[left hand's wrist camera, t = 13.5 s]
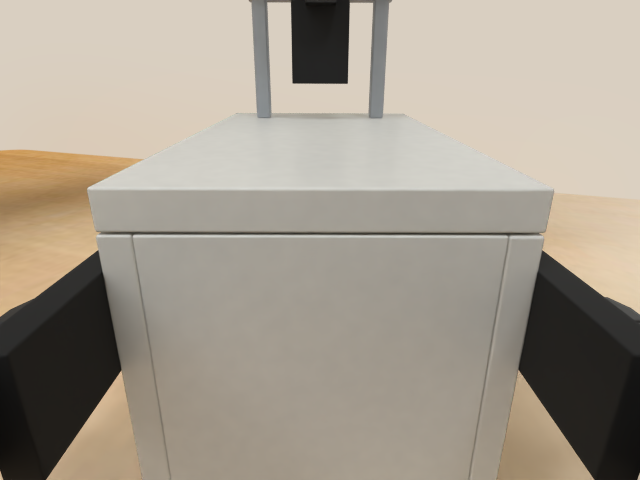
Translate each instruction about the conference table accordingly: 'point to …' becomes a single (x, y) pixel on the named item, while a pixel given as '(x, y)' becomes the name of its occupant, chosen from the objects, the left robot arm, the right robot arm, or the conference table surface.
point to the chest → (319, 351)
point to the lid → (320, 172)
